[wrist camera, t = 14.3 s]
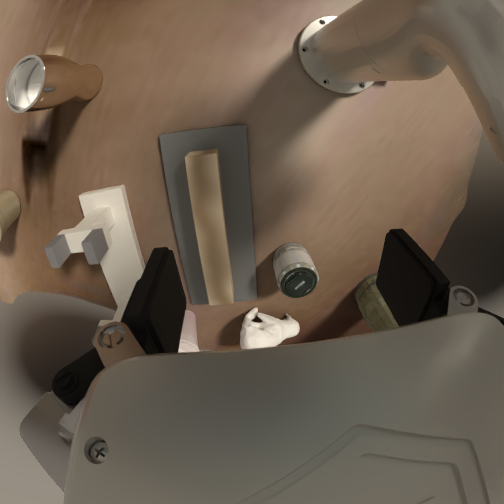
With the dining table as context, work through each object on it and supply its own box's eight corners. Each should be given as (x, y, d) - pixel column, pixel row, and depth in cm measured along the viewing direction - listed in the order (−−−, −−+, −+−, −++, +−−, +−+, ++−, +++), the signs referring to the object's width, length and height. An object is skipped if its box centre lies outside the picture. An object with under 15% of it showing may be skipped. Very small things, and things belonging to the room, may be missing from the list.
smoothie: (171, 302, 49) (158, 361, 37) (204, 307, 50) (199, 367, 38) (170, 324, 52) (159, 381, 40) (201, 329, 54) (196, 387, 42)
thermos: (380, 310, 55) (447, 445, 25) (340, 300, 52) (406, 463, 22) (402, 279, 51) (488, 415, 21) (363, 265, 48) (457, 431, 18)
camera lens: (264, 260, 46) (269, 289, 39) (289, 233, 44) (299, 259, 37) (290, 277, 48) (299, 307, 42) (315, 253, 46) (328, 280, 39)
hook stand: (124, 184, 37) (84, 222, 26) (159, 309, 50) (146, 364, 38) (82, 193, 37) (37, 230, 25) (123, 310, 50) (105, 362, 38)
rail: (218, 148, 35) (216, 153, 32) (233, 288, 48) (233, 303, 44) (189, 151, 35) (184, 157, 32) (210, 290, 47) (209, 305, 44)
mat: (245, 124, 34) (246, 124, 34) (256, 296, 50) (257, 299, 49) (160, 134, 34) (159, 135, 33) (192, 301, 49) (192, 304, 49)
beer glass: (112, 64, 27) (54, 53, 14) (97, 107, 30) (36, 118, 18) (76, 59, 26) (14, 53, 13) (63, 101, 29) (-1, 112, 16)
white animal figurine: (244, 340, 43) (311, 335, 46) (237, 305, 50) (297, 304, 53) (240, 362, 46) (302, 357, 49) (234, 328, 54) (290, 326, 56)
